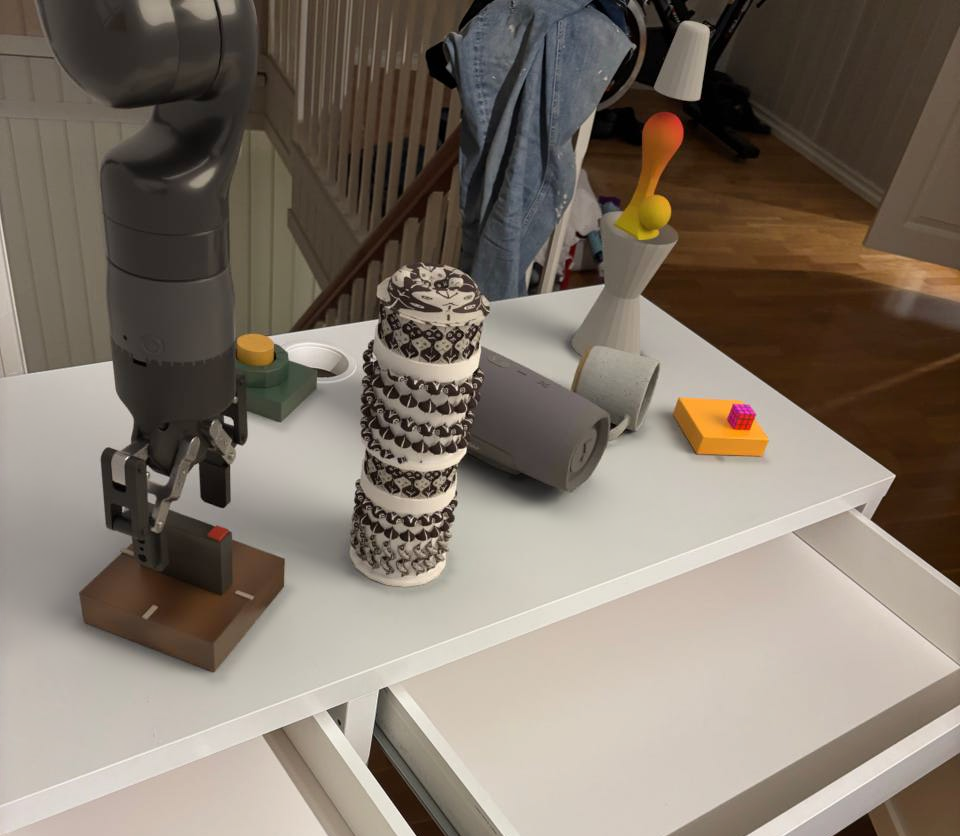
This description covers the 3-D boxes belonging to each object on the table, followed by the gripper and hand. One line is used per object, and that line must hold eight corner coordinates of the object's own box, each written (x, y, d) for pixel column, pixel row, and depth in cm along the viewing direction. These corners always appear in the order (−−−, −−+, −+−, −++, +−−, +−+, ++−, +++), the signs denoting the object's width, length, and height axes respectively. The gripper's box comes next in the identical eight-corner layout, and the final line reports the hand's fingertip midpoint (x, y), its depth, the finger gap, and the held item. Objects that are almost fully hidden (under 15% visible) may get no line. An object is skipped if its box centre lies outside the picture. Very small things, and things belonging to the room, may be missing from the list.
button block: (190, 392, 98) (189, 355, 95) (231, 359, 104) (230, 324, 101) (280, 423, 97) (281, 387, 94) (316, 388, 102) (318, 353, 100)
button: (230, 360, 97) (229, 344, 95) (248, 345, 99) (248, 329, 98) (262, 371, 96) (263, 355, 95) (280, 356, 99) (280, 340, 97)
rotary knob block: (81, 622, 73) (76, 591, 71) (164, 541, 81) (162, 511, 79) (215, 673, 72) (214, 643, 69) (286, 586, 80) (287, 556, 77)
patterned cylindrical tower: (331, 575, 82) (355, 289, 64) (360, 512, 88) (388, 238, 71) (438, 601, 81) (489, 321, 64) (458, 536, 88) (509, 267, 71)
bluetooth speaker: (599, 480, 99) (625, 393, 92) (552, 519, 92) (577, 429, 86) (420, 388, 106) (432, 301, 99) (366, 419, 100) (375, 328, 93)
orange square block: (696, 454, 105) (709, 420, 103) (672, 414, 111) (683, 380, 108) (762, 456, 107) (776, 423, 105) (735, 417, 113) (748, 384, 110)
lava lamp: (555, 339, 120) (632, 10, 96) (605, 326, 125) (691, 10, 101) (606, 374, 115) (701, 38, 91) (656, 359, 120) (758, 37, 96)
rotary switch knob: (139, 565, 74) (134, 509, 71) (151, 553, 75) (146, 498, 72) (222, 595, 73) (221, 541, 70) (232, 583, 74) (232, 529, 71)
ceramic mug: (580, 389, 111) (596, 327, 106) (648, 412, 110) (668, 350, 105) (552, 432, 104) (567, 367, 99) (624, 457, 103) (644, 393, 97)
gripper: (181, 270, 66) (191, 470, 77) (46, 355, 56) (80, 571, 67) (281, 302, 65) (277, 500, 76) (162, 395, 55) (177, 607, 66)
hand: (185, 533), depth 71 cm, fingers open, 8 cm apart
